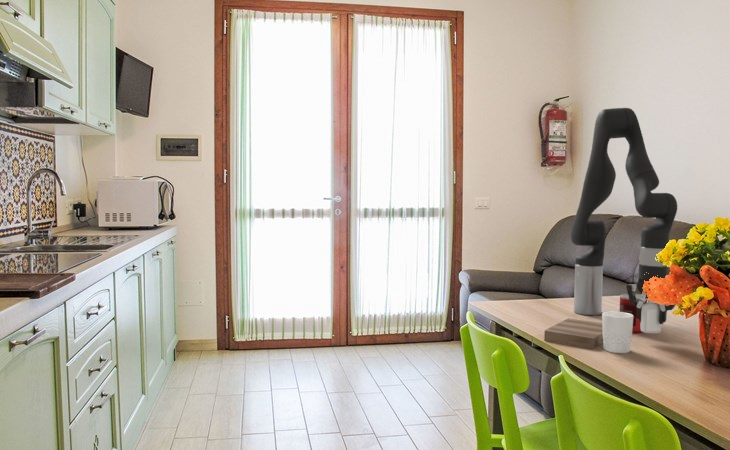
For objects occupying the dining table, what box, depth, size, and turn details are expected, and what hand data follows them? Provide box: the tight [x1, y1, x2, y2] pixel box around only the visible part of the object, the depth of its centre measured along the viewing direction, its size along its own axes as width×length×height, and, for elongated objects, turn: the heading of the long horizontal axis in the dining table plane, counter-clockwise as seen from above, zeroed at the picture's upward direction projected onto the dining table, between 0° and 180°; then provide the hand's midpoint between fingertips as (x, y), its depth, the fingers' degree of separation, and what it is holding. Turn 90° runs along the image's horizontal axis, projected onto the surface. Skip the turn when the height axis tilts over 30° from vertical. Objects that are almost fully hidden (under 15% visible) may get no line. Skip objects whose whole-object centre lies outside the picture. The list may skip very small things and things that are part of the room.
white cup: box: [601, 310, 633, 354], centre depth 157 cm, size 8×8×10 cm
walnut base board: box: [543, 317, 603, 350], centre depth 170 cm, size 20×14×3 cm
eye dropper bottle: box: [641, 299, 663, 334], centre depth 163 cm, size 4×6×12 cm
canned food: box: [619, 293, 648, 334], centre depth 178 cm, size 8×8×11 cm
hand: (651, 321), depth 163 cm, fingers closed on eye dropper bottle, 4 cm apart
